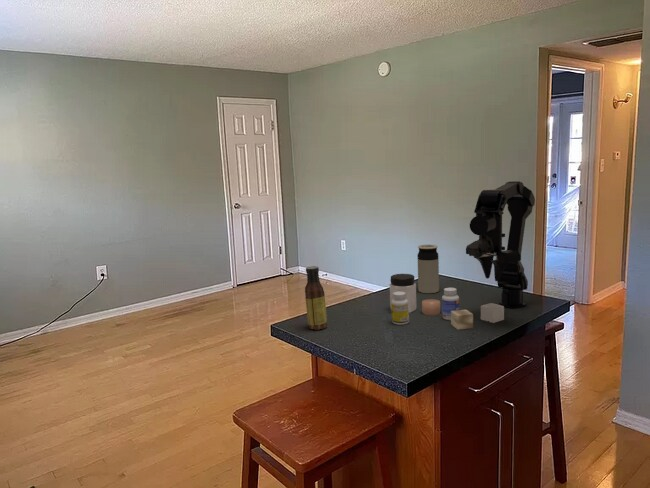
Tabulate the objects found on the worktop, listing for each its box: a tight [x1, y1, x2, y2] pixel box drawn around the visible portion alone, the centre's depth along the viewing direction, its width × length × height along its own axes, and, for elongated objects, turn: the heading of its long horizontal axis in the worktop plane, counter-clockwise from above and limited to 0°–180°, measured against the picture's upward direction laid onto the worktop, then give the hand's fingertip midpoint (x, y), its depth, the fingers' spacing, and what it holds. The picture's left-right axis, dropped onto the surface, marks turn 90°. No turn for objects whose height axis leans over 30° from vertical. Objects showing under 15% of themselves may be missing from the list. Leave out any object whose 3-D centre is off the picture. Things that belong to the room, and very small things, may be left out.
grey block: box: [480, 302, 505, 324], centre depth 158 cm, size 5×5×4 cm
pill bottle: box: [441, 287, 460, 321], centre depth 161 cm, size 5×5×10 cm
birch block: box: [450, 309, 474, 330], centre depth 153 cm, size 5×5×4 cm
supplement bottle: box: [391, 292, 410, 326], centre depth 159 cm, size 5×5×10 cm
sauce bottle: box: [304, 265, 328, 331], centre depth 158 cm, size 6×6×20 cm
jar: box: [389, 273, 417, 314], centre depth 172 cm, size 9×8×12 cm
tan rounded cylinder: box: [421, 298, 441, 317], centre depth 168 cm, size 6×6×4 cm
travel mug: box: [417, 244, 440, 295], centre depth 193 cm, size 8×8×18 cm
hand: (492, 279), depth 156 cm, fingers open, 4 cm apart
